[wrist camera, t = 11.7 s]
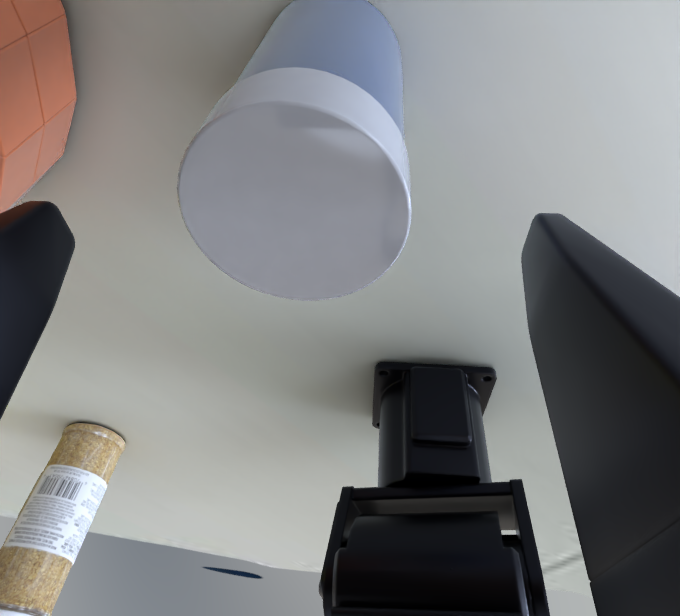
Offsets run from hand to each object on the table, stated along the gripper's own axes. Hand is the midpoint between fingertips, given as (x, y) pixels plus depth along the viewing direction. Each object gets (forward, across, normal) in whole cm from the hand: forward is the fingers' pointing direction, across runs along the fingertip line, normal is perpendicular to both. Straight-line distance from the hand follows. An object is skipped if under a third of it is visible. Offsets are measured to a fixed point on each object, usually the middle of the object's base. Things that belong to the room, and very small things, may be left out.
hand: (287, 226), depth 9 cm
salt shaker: (+8, 0, 0) cm, 8 cm away
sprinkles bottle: (+9, +19, +26) cm, 33 cm away
